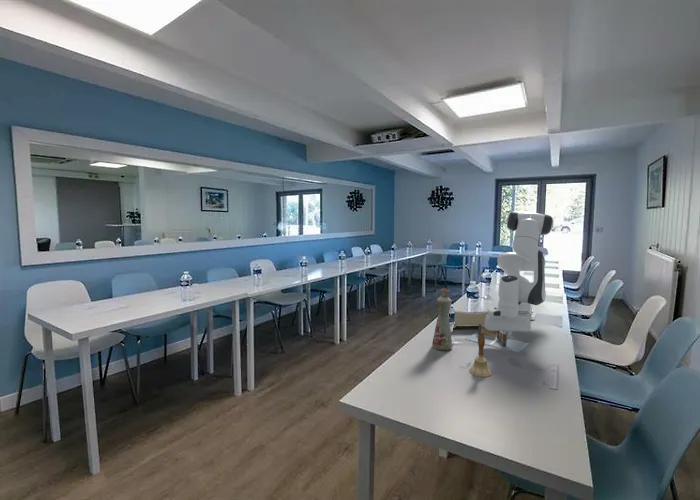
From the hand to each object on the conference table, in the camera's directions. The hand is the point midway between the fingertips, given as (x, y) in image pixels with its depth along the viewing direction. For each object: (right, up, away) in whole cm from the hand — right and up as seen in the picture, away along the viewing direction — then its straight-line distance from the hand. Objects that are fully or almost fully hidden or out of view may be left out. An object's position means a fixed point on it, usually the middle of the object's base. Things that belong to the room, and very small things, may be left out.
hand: (506, 339), depth 170 cm
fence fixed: (-4, -1, +11) cm, 12 cm away
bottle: (-32, -3, -4) cm, 32 cm away
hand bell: (-23, -6, -29) cm, 37 cm away
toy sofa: (-10, 0, +26) cm, 28 cm away
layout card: (-3, -2, +5) cm, 6 cm away
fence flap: (-1, -2, +2) cm, 3 cm away
